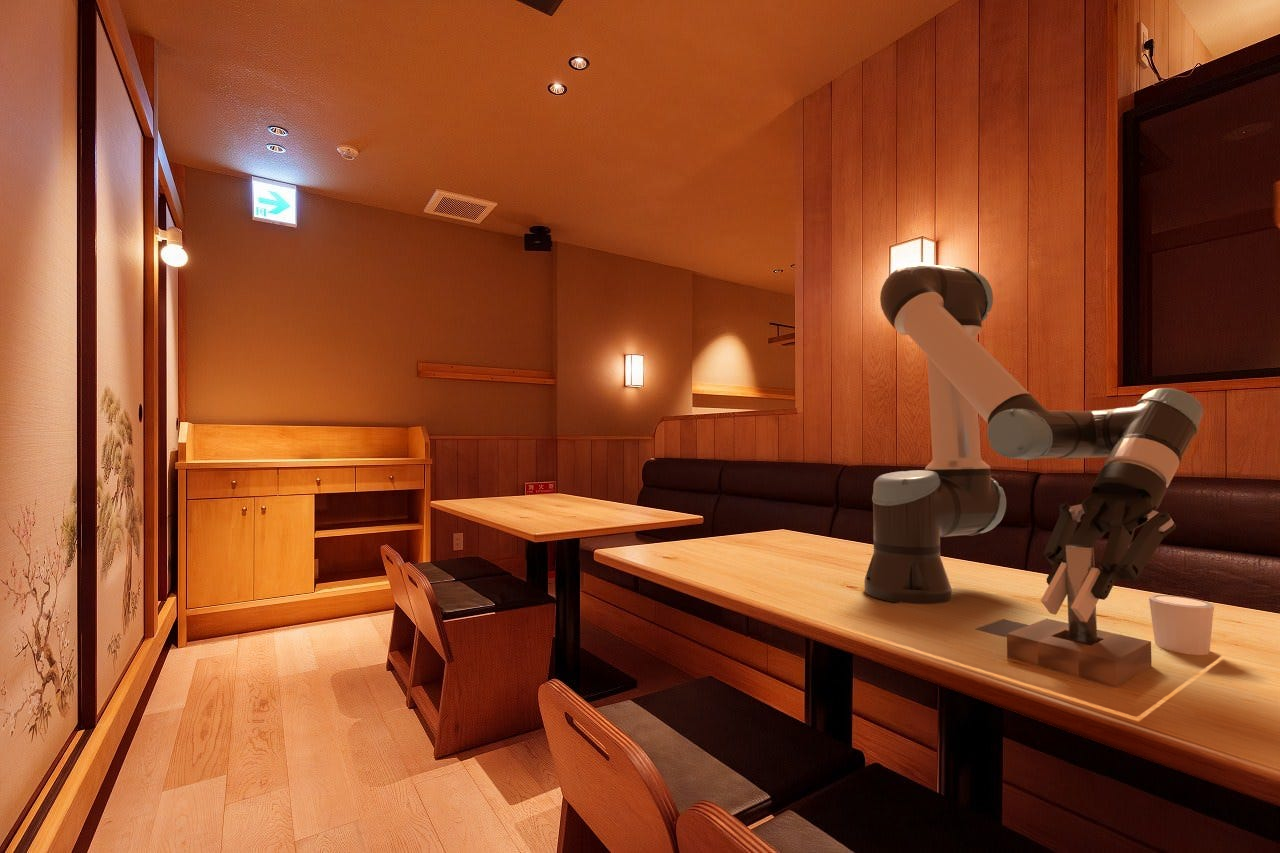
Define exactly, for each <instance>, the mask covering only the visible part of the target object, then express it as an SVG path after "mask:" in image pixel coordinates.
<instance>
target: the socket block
mask: <svg viewBox="0 0 1280 853" xmlns="http://www.w3.org/2000/svg"><path fill="white" fill-rule="evenodd" d="M1027 625H1028V626H1026V627H1023V628H1020V629H1018V630H1015V631H1012V632H1010V633H1007V637H1006V656H1007V658H1008V659H1012V660H1016V661H1019V662H1023V663H1027V664H1029V665H1033V666H1038V667H1039V668H1040V667H1041V668H1044V669H1048V670H1052V671H1054V672H1058V673H1061V674H1065V675H1069V676H1072V677H1076V678H1080V679H1083V680H1086V681H1091V682H1093V683H1098V684H1102V685H1105V686H1108V687H1111V688H1118V687H1120V686H1121V685H1123V684H1124V683H1127V682H1128V681H1130V680H1131V679H1133V678H1135V677H1136V676H1138V675H1139V674H1141V673H1143V672H1144V671H1146V670H1147V669H1149V668H1151V667H1152V665H1153V664H1152V641H1150V640H1147V639H1146V640H1145V639H1143V638H1142V639H1141V638H1137V637H1132V636H1129V635H1123V634H1119V633H1115V632H1110V631H1105V630H1101V629H1097V642H1081V641H1077V640H1073V639H1071V638H1069V628H1068V622H1064V621H1059V620H1055V619H1051V618H1044V619H1042V620H1039V621H1037V622H1034V623H1032V624H1027Z"/></svg>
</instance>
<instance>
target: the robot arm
mask: <svg viewBox="0 0 1280 853" xmlns="http://www.w3.org/2000/svg"><path fill="white" fill-rule="evenodd" d="M879 296H880V298H879V302H880V308H881V310H882V313H883V315H884V317H885V318H886V320H887V321H888V323H890V325H891V326H892V327H893V329H895V331H896V332H897V333H898V334H900V335H902V336H909V338H910V339H911V340H912V341H913V342H914V343H915V344H916V345H917V347H918V348H919V349H920V350H921V351H922V352H923V353H924V354H925V355H926V361H927V364H926V365H927V379H928V396H929V397H928V400H929V416H930V417H929V418H930V432H931V450H932V453H931V454H932V455H931V456H932V459H931V461H930V462H929V463H928V464H927V465H926V466H925V468H924V469H923V470H922V469H921V470H917V469H916V470H907V471H906V470H905V471H904V470H901V471H894V472H889V473H884V474H880V475H879V476H877V477H876V478H875V479H874V482H873V489H872V490H873V492H872V495H871V496H872V497H871V501H872V518H873V519H872V520H873V521H872V523H873V527H872V529H873V553H872V557H871V560H870V562H869V564H868V569H867V571H866V574H865V577H864V593H865V594H866V595H868V596H869V597H873V598H875V599H879V600H881V601H886V602H892V603H896V604H897V603H905V604H914V605H935V604H943V603H947V602H950V601H951V599H952V586H951V583H950V581H949V577H948V574H947V571H946V569H945V566H944V564H943V561H942V557H941V538H946V537H957V536H968V537H971V536H976V535H979V534H984V533H988V532H990V531H991V530H993V529H994V528H996V527H997V525H999V524H1000V523H1001V521H1002V520H1003V518H1004V516H1005V513H1006V509H1007V497H1006V494H1005V491H1004V488H1003V487H1002V486H1000V485H999V482H998V481H997V480H995V479H994V478H992V475H991V466H990V465H989V464H988V463H986V462H985V461H984V460H983V459H982V455H981V439H980V438H981V436H980V424H979V423H980V422H979V421H980V420H979V416H980V417H981V418H982V419H983V420H984V421H985V422H986V424H987V430H986V435H987V438H988V441H989V443H988V444H989V445H990V447H991V449H992V450H993V451H994V452H996V453H997V454H998V455H999V456H1002V457H1004V458H1009V459H1017V460H1024V461H1027V460H1028V461H1029V460H1037V459H1065V460H1067V459H1068V460H1072V459H1073V460H1079V459H1087V458H1088V459H1089V458H1090V459H1091V458H1092V459H1093V458H1106V459H1105V462H1104V464H1103V467H1102V468H1101V469H1100V471H1099V473H1098V475H1097V477H1096V478H1095V480H1094V482H1093V485H1092V488H1091V493H1090V495H1089V496H1088V497H1087V498H1085V499H1083V501H1082V502H1081V503H1079V504H1076V505H1072V506H1071V505H1069V503H1067V502H1063V503H1061V504H1060V505H1059V517H1058V519H1057V521H1056V523H1055V525H1054V528H1053V530H1052V533H1051V534H1050V537H1049V539H1048V541H1047V544H1046V546H1045V548H1044V550H1043V555H1044V557H1045V558H1046V560H1047V561H1048V562H1049V564H1050V565H1051V567H1052V568H1051V570H1050V571H1049V573H1048V576H1047V577H1046V583H1047V585H1048V587H1047V588H1046V590H1045V591H1044V594H1043V595H1042V597H1041V600H1040V602H1041V603H1042V604H1043V605H1044V607H1045V608H1046V610H1047V611H1048V613H1049V614H1052V615H1055V616H1057V614H1058V612H1059V610H1060V609H1061V607H1062V604H1063V603H1064V601H1065V599H1066V597H1067V575H1066V549H1065V545H1086V546H1091V547H1093V545H1094V544H1095V543H1096V542H1097V540H1098V539H1100V540H1101V539H1102V538H1103V537H1104V536H1105V534H1106V533H1109V535H1108V538H1107V541H1106V545H1105V548H1104V553H1103V555H1102V558H1101V561H1100V562H1099V561H1097V564H1098V566H1099V567H1100V569H1099V568H1097V567H1094V568H1091V570H1090V572H1089V574H1088V576H1087V578H1086V580H1085V581H1084V583H1083V585H1082V587H1081V589H1080V591H1079V593H1078V595H1077V597H1076V598H1075V600H1074V602H1073V604H1072V606H1071V609H1072V610H1073V611H1074V613H1075V614H1076V615H1077V617H1078V618H1079V620H1080V621H1083V622H1087V621H1088V619H1089V617H1090V616H1091V614H1092V612H1093V610H1094V608H1095V606H1096V607H1097V604H1098V601H1099V600H1102V601H1103V600H1106V599H1107V598H1109V595H1110V593H1111V591H1112V589H1113V587H1114V585H1115V583H1116V582H1118V581H1119V580H1126V579H1127V581H1128V582H1129V581H1131V582H1133V581H1136V580H1137V579H1138V578H1139V577H1140V575H1141V574H1142V572H1143V571H1144V569H1145V567H1146V566H1147V565H1148V563H1149V562H1150V560H1151V558H1152V556H1153V555H1154V554H1155V552H1156V550H1157V549H1158V547H1159V546H1160V544H1161V542H1162V541H1163V540H1164V538H1165V537H1168V535H1169V534H1171V533H1172V532H1173V531H1175V530H1176V529H1177V525H1176V524H1175V522H1174V521H1173V519H1172V517H1171V516H1170V514H1169V512H1168V511H1165V510H1164V511H1163V510H1161V511H1157V509H1158V508H1159V507H1160V504H1161V503H1162V500H1163V498H1164V496H1165V494H1166V492H1167V488H1168V487H1169V485H1170V484H1171V482H1172V480H1173V478H1174V476H1175V474H1176V472H1177V470H1178V469H1179V466H1180V464H1181V462H1182V459H1183V457H1184V455H1185V453H1186V452H1187V449H1188V448H1189V446H1190V445H1191V443H1192V441H1193V440H1194V437H1195V436H1196V435H1197V434H1198V431H1199V426H1200V423H1201V421H1202V418H1203V416H1204V408H1203V406H1202V404H1201V402H1200V401H1199V400H1198V399H1197V398H1196V397H1195V396H1193V395H1192V394H1190V393H1188V392H1186V391H1183V390H1181V389H1180V390H1179V389H1177V388H1176V389H1175V388H1171V387H1160V388H1155V389H1152V390H1149V391H1148V392H1146V393H1144V394H1143V395H1142V397H1140V399H1139V400H1137V401H1136V405H1133V406H1121V407H1115V408H1109V409H1108V408H1107V409H1095V410H1058V409H1057V410H1055V409H1054V410H1053V409H1052V410H1048V409H1047V408H1045V407H1044V406H1043V405H1042V404H1041V403H1040V402H1039V401H1038V400H1037V398H1035V397H1033V395H1032V394H1031V393H1030V392H1029V391H1028V390H1027V389H1026V388H1025V387H1024V386H1023V385H1022V384H1021V383H1020V382H1019V381H1018V380H1017V379H1016V378H1015V377H1014V376H1013V375H1012V374H1011V373H1010V372H1009V371H1008V370H1007V369H1006V368H1005V367H1004V366H1003V365H1002V364H1001V363H1000V362H999V361H998V360H997V359H996V358H995V357H994V356H993V355H992V354H991V353H990V352H989V351H988V350H987V349H986V347H984V346H983V345H982V344H981V343H980V342H979V341H978V340H977V339H976V337H977V336H978V335H979V334H980V333H981V332H982V330H983V328H982V327H983V326H982V323H983V322H984V321H985V320H986V319H987V318H988V316H989V314H988V313H989V312H991V310H992V308H993V305H994V294H993V288H992V286H991V284H990V281H989V280H988V279H986V277H985V276H984V275H982V274H981V273H979V272H978V271H974V270H972V269H971V270H970V269H968V268H965V267H959V266H954V267H952V266H945V265H936V264H931V263H930V264H929V263H927V262H926V263H925V262H924V263H923V262H913V263H908V264H904V265H903V266H899V268H897V269H895V270H894V271H893V272H891V273H890V274H889V275H888V277H887V278H886V279H885V281H884V283H883V285H882V287H881V290H880V295H879ZM1084 514H1085V515H1084ZM1082 515H1084V516H1083V517H1082ZM1081 517H1082V519H1081ZM1080 522H1081V523H1080ZM1078 523H1080V526H1079V527H1078V528H1077V526H1078ZM1141 526H1142V527H1141ZM1139 527H1141V529H1140V531H1139V532H1138V533H1137V535H1136V537H1135V538H1134V535H1135V533H1136V532H1135V530H1136V529H1137V528H1139ZM1133 539H1134V540H1133ZM1130 542H1132V543H1131V544H1130Z"/></svg>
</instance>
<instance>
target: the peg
mask: <svg viewBox="0 0 1280 853" xmlns="http://www.w3.org/2000/svg"><path fill="white" fill-rule="evenodd" d="M1065 549H1066V575H1067V595H1066V597H1067V600H1066V601H1067V621H1068V622H1067V623H1068V628H1069V638H1071V639H1073V640H1077V641H1081V642H1097V630H1098V627H1097V626H1098V624H1097V605H1096V606H1095V608H1094V610H1093V612H1092V614H1091V616H1090V617H1089V619H1088V621H1087V622H1083V621H1080V620H1079V618H1078V617H1077V615H1076V614H1075V613H1074V611H1073V610H1072V609H1071V606H1072V604H1073V602H1074V600H1075V598H1076V597H1077V595H1078V593H1079V591H1080V589H1081V587H1082V585H1083V583H1084V581H1085V580H1086V578H1087V576H1088V574H1089V572H1090V570H1091V568H1095V550H1094V546H1092V547H1091V546H1086V545H1065Z"/></svg>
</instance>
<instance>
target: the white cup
mask: <svg viewBox="0 0 1280 853" xmlns="http://www.w3.org/2000/svg"><path fill="white" fill-rule="evenodd" d="M1148 600H1149V607H1150V615H1151V624H1152V630H1153V638H1154V644H1155V646H1157V647H1159V648H1161V649H1163V650H1166V651H1170V652H1174V653H1179V654H1180V653H1181V654H1185V655H1192V656H1193V655H1194V656H1207V655H1209V654H1210V651H1211V642H1212V641H1211V640H1212V639H1211V638H1212V632H1213V631H1212V630H1213V620H1214V610H1215V605H1214V604H1213V603H1211V602H1208V601H1205V600H1201V599H1198V598H1192V597H1188V596H1178V595H1168V594H1153V595H1149V596H1148Z"/></svg>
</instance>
